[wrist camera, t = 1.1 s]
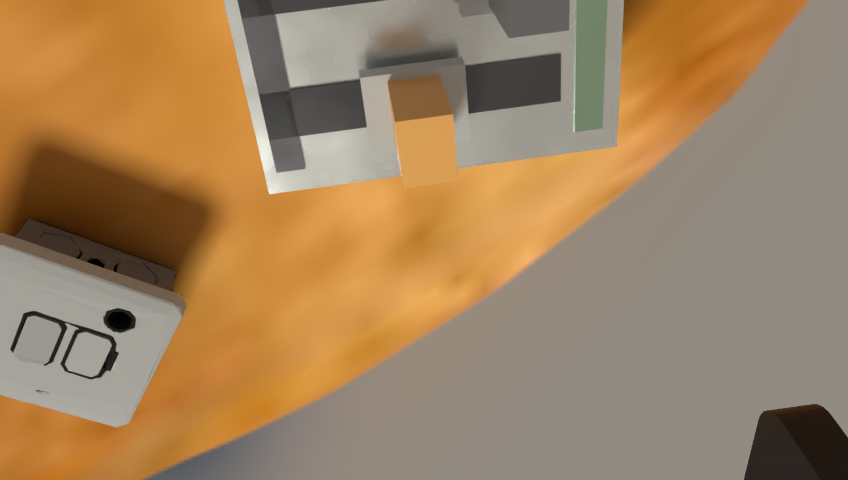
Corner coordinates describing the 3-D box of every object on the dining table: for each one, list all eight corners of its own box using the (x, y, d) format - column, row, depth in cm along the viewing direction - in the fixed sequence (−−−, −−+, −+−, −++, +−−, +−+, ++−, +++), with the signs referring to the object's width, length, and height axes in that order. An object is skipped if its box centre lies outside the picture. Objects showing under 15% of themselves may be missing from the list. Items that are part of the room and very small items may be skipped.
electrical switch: (190, 304, 38) (121, 450, 41) (197, 260, 43) (135, 394, 45) (-12, 233, 35) (-74, 397, 37) (19, 194, 40) (-38, 342, 42)
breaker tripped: (358, 70, 30) (364, 117, 26) (461, 56, 30) (481, 102, 26) (369, 144, 32) (376, 199, 28) (466, 131, 32) (486, 184, 28)
